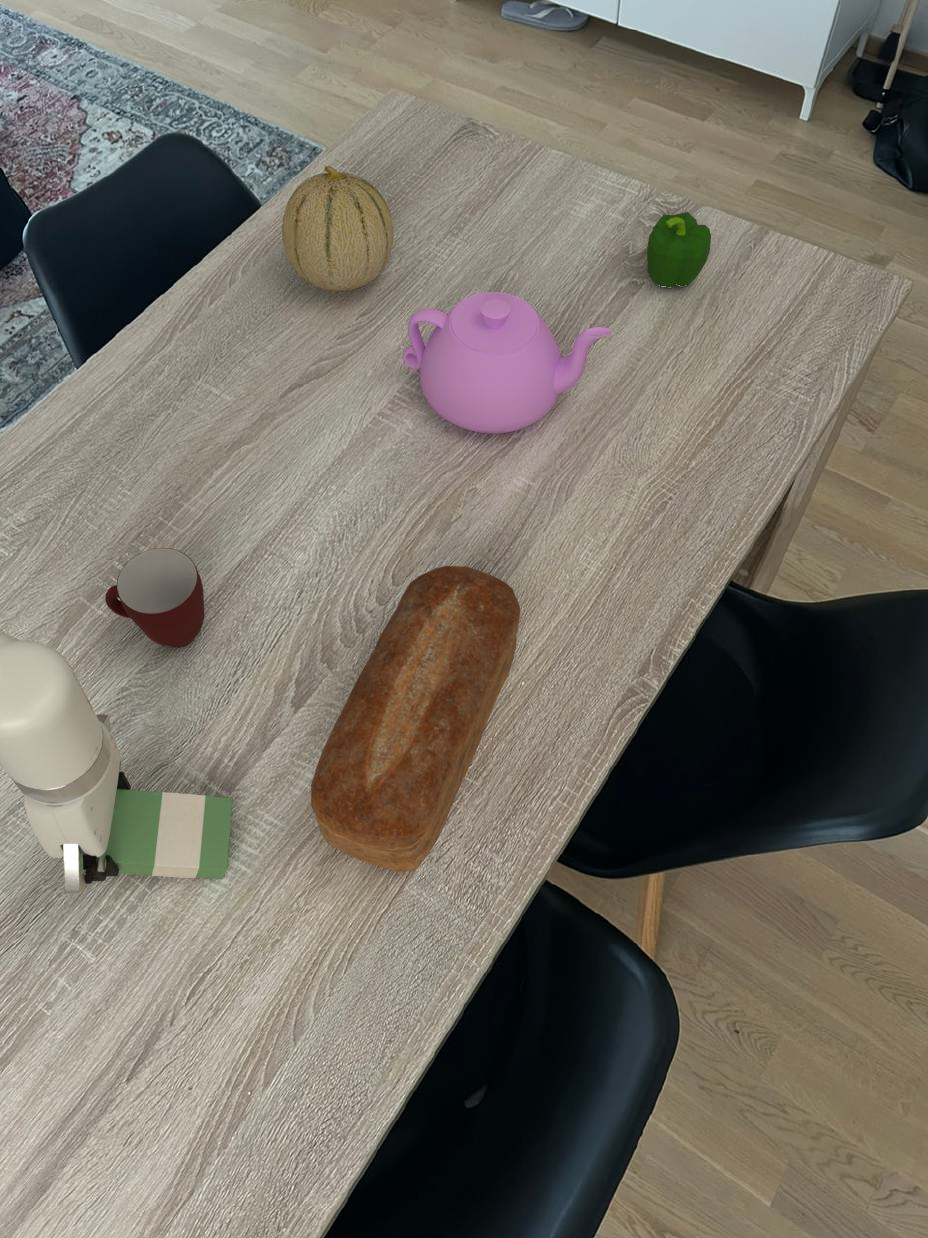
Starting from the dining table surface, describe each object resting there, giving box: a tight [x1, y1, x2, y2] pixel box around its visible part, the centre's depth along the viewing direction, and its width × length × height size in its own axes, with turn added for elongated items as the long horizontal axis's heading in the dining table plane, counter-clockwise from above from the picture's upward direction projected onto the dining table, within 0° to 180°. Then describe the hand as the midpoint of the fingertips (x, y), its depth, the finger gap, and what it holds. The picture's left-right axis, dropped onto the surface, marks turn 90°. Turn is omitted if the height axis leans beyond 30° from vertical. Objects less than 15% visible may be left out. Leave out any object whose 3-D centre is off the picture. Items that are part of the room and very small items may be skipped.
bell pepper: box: [646, 211, 712, 288], centre depth 139 cm, size 8×8×10 cm
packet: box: [83, 789, 233, 880], centre depth 97 cm, size 13×7×3 cm, turn 93°
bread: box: [310, 565, 521, 873], centre depth 100 cm, size 12×31×14 cm, turn 158°
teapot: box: [402, 291, 612, 435], centre depth 126 cm, size 25×18×14 cm
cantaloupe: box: [281, 165, 394, 292], centre depth 136 cm, size 15×15×15 cm
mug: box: [104, 547, 205, 649], centre depth 108 cm, size 11×8×10 cm
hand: (107, 830), depth 96 cm, fingers closed on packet, 7 cm apart
